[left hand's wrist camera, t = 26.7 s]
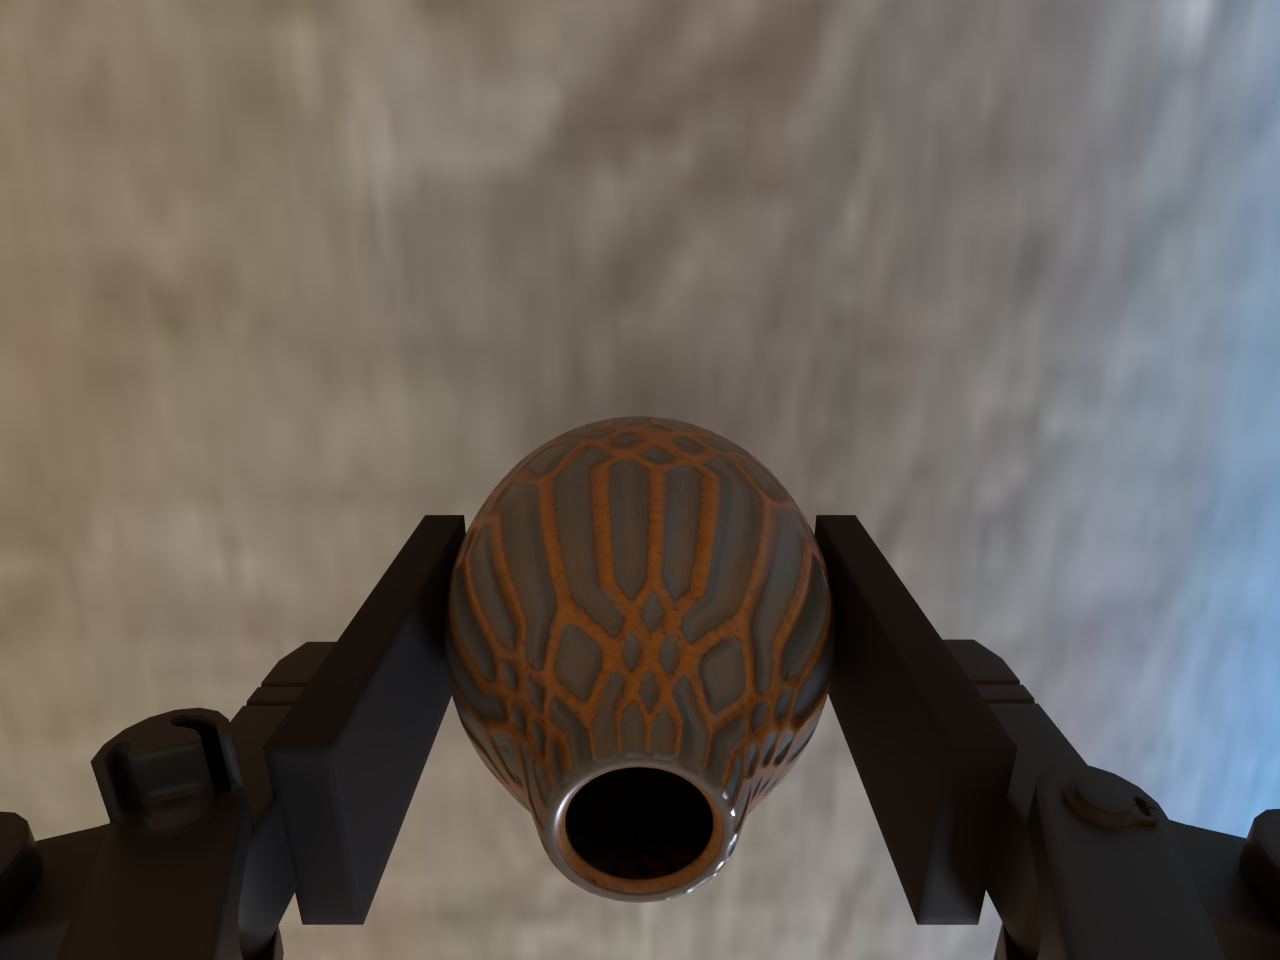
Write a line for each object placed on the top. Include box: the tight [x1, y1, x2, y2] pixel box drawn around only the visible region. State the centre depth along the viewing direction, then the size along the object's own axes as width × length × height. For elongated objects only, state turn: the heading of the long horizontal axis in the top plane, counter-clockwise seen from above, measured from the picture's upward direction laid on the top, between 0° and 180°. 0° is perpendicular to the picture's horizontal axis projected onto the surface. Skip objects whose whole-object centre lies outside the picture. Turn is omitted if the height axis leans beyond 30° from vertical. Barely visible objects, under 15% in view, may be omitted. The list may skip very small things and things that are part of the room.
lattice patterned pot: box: [444, 417, 835, 902], centre depth 13 cm, size 7×7×9 cm
